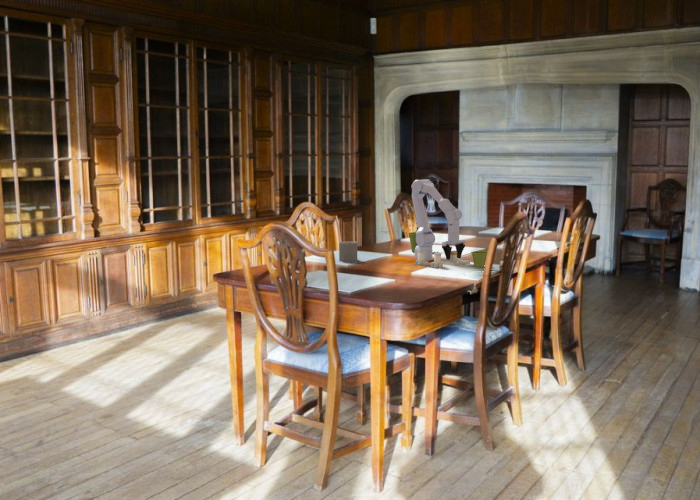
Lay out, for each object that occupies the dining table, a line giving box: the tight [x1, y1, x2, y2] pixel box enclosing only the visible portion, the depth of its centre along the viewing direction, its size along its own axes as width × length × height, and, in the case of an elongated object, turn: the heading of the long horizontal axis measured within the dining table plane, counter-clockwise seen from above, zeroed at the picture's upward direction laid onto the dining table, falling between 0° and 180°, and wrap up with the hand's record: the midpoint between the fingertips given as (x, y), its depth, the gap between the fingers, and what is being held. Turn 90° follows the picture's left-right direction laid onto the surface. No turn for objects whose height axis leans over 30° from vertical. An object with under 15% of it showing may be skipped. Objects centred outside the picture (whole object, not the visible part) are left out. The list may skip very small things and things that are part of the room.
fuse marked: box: [449, 250, 458, 263], centre depth 371 cm, size 4×4×7 cm
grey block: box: [338, 240, 358, 263], centre depth 395 cm, size 13×10×10 cm
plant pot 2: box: [470, 250, 488, 268], centre depth 359 cm, size 9×9×9 cm
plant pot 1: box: [407, 231, 425, 253], centre depth 424 cm, size 12×12×11 cm
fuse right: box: [433, 252, 442, 269], centre depth 358 cm, size 3×3×7 cm
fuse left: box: [417, 250, 425, 266], centre depth 367 cm, size 3×3×7 cm
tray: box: [441, 258, 471, 266], centre depth 372 cm, size 12×12×3 cm
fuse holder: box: [411, 259, 448, 270], centre depth 363 cm, size 19×7×4 cm, turn 36°
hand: (453, 258), depth 371 cm, fingers open, 7 cm apart
